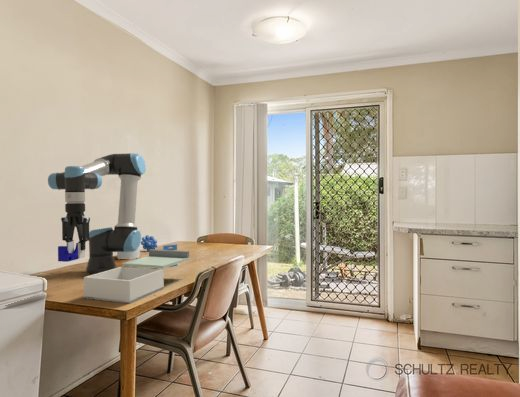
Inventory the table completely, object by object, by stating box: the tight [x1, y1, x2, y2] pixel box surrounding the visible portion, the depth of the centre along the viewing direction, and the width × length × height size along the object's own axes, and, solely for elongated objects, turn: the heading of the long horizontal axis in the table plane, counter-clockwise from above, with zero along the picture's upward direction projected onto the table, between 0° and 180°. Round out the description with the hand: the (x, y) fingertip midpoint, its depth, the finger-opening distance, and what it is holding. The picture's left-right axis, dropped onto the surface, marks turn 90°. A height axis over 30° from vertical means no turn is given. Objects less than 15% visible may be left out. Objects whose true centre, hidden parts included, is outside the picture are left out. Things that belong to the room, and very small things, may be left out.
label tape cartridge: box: [162, 243, 178, 267], centre depth 205 cm, size 9×4×12 cm, turn 133°
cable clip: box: [57, 242, 79, 263], centre depth 150 cm, size 12×4×6 cm, turn 169°
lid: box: [121, 249, 190, 270], centre depth 169 cm, size 22×22×4 cm
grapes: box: [140, 234, 158, 252], centre depth 259 cm, size 12×7×12 cm, turn 106°
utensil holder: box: [116, 229, 141, 260], centre depth 234 cm, size 15×15×18 cm
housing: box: [83, 266, 165, 304], centre depth 148 cm, size 22×22×8 cm
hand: (76, 257), depth 152 cm, fingers closed on cable clip, 5 cm apart
